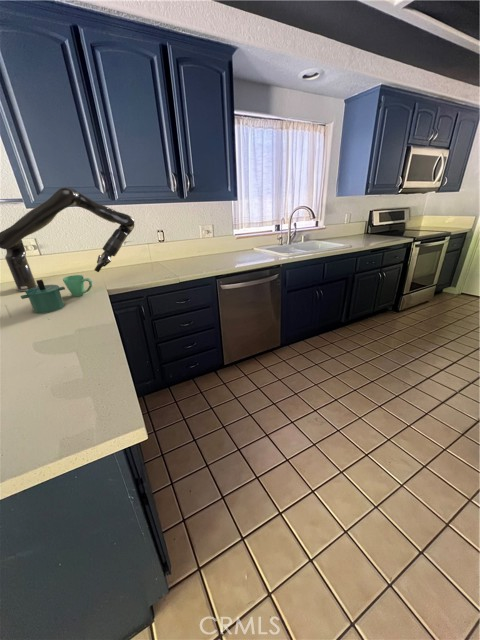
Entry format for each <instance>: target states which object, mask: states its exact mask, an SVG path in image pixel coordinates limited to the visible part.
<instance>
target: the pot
mask: <svg viewBox="0 0 480 640" xmlns="http://www.w3.org/2000/svg"><path fill="white" fill-rule="evenodd" d="M65 290H66V286H59V289H58V290H56V291H53V292H50V293H46V294H41V295H27V294H22V295H20V298H21V300H25V299H28V300H29V302H30V306H31V308H32V310H33V312H34V313H36V314H47V313H48V314H49V313H53V312H56V311H58V310H60V309H62V308H64V307H65V303H64V300H63V297H62V294H61V291H65Z"/></svg>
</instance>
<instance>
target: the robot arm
mask: <svg viewBox="0 0 480 640" xmlns="http://www.w3.org/2000/svg"><path fill="white" fill-rule="evenodd" d="M73 206H75V207H78V208H81V209H84V210H86V211H88V212H91V213H92V214H94V215H95V216H97V217H99V218H101V219H103V220H105V221H107V222H110V223H112V224H118V225H119V227H117V228H116V229H115V230H114V231H113V233H112V234H111V236H110V237H109V238H108V239H107V240H106V242H105V244H104V245H103V247H102V248H101V249H102V250H103V252H102V253H101V254H98V256H97V260H96V266H95V267H94V271H95V272H96V273H99V272H100V271H101V269H102V268H103V267H104V268H105V267H106V266H108V265H110V263H111V262H112V259H111V258H112V257H116V256H117V254H118V252H119V251H120V250H121V248H122V246H123V244H124V242H125V241H126V239H127V238H128V237H129V235H130V234H131V233H132V232H133V230H134V228H135V224H136V223H135V219H134V218H133V217H132V216H130V215H128V214H126V213H124V212H120V211H117V210H115V209H113V208H110V207H108V206H106V205H104V204H102V203H99V202H97V201H94V200H92V199H91V198H88V197H87V196H85V195H84V194H82V193H81V192H79V191H77V190H76V189H75V188H73V187H67V186H63V187H60V188H59V189H57V190H56V191H55V192H54V193H53V194H51V196H50V197H49V198H48V199H46V200H45V201H43V202H42V203H40V204H39V205H37V206H35V207H34V208H32V209H31V210H29V211H28V212H27V213H25V214H24V215H23V216H22V217H21V218H19V219H18V220H16V222H14V223H13V224H12V225H11V226H9V227H7V228H6V229H4V230H2V231H0V249H1V250H5V252H6V254H5V256H4V259H5V261H6V264H7V266H8V268H9V269H8V270H9V272H10V273H11V276H12V279H13V281H14V283H15V286H16V288H17V291H18V292H26V291H27V290H28V289H31V288H34V287H38V284H36V283H37V282H36V280H35V278H34V275H33V273H32V269H31V266H30V265H29V262H28V259H27V251H26V248H25V245H24V242H23V239H24V238H26V237H28V236H30V235H33V234H34V233H36V232H38V231H40V230H42V229H43V228H45V227H46V226H47V225H49V224H50V223H52V221H53V220H54V219H55V218H56V216H57V215H58V214H59V213H60V212H62V211H63V210H65V209H67V208H69V207H73Z"/></svg>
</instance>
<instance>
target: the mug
mask: <svg viewBox="0 0 480 640" xmlns="http://www.w3.org/2000/svg"><path fill="white" fill-rule="evenodd" d="M62 281H63V283H64V285H65V287H66V288H67V289H68V291H69V292H70V294H71V295H72V296H73V297H81V296H83V295H84V294H86V293H88V292H89V291H90V290H91V289H92V288H93V280H91V278H84V275H82V274H74V275H68V276H64V277H63V278H62ZM84 282H88V285H89V286H88V288H87V289H86V290H85V289H84V288H85V283H84Z"/></svg>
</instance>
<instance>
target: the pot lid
mask: <svg viewBox="0 0 480 640" xmlns="http://www.w3.org/2000/svg"><path fill="white" fill-rule="evenodd" d="M36 283H37V284H36V285H37V287H34V288H31V289H28V290H27V291H24V293H25V295H41V294H46V293H50V292H53V291H56V290H58V289H59V287H60V286H59V285H58V284H45V283H44V281H43V279H37V280H36Z"/></svg>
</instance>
